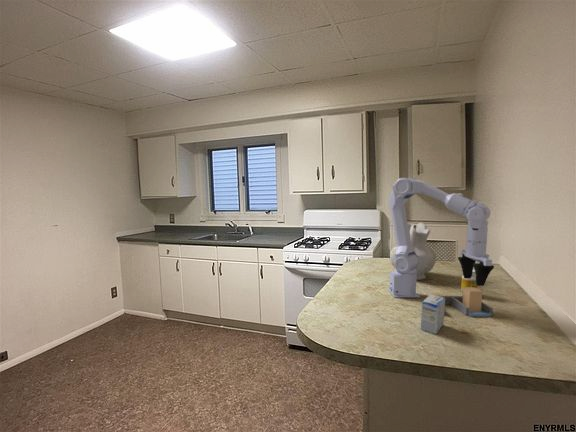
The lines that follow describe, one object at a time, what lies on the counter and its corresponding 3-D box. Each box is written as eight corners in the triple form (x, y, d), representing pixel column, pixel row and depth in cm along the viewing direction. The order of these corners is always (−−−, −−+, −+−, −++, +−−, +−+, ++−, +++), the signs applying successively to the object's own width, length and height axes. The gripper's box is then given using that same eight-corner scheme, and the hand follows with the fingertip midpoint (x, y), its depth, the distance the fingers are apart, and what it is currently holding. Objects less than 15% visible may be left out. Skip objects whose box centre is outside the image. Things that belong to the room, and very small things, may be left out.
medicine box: (428, 321, 99) (429, 293, 98) (443, 325, 96) (445, 297, 96) (420, 330, 93) (421, 301, 92) (436, 334, 90) (438, 305, 89)
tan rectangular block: (468, 311, 106) (469, 291, 105) (462, 307, 110) (463, 287, 109) (480, 312, 105) (482, 291, 105) (473, 307, 109) (475, 287, 109)
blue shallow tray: (443, 316, 103) (443, 308, 102) (427, 302, 114) (428, 295, 114) (493, 316, 103) (494, 309, 102) (472, 302, 114) (473, 296, 114)
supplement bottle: (465, 291, 126) (466, 267, 125) (479, 295, 122) (481, 270, 121) (457, 294, 123) (459, 269, 122) (472, 298, 119) (474, 273, 118)
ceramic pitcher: (440, 288, 133) (448, 229, 131) (391, 281, 136) (399, 223, 133) (426, 273, 155) (433, 222, 152) (384, 268, 158) (390, 218, 155)
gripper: (503, 245, 98) (499, 289, 99) (476, 237, 112) (473, 275, 114) (479, 245, 98) (476, 288, 99) (455, 237, 112) (453, 275, 114)
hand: (473, 281), depth 107 cm, fingers open, 7 cm apart
